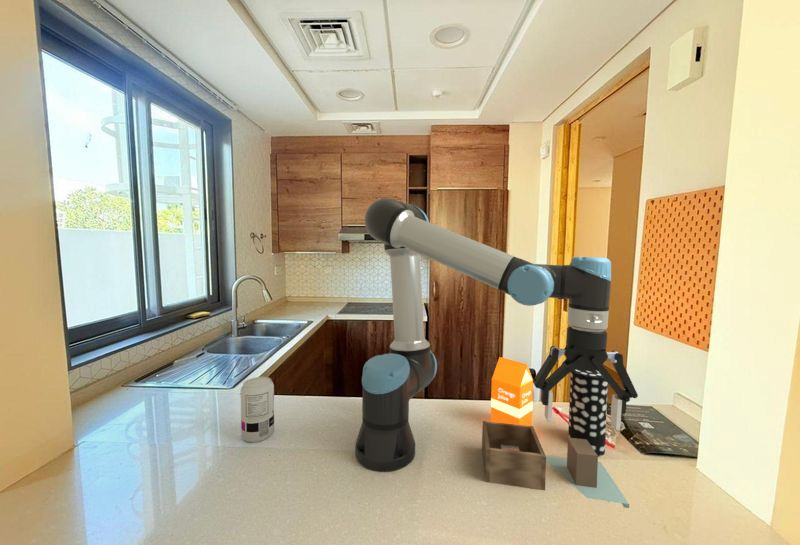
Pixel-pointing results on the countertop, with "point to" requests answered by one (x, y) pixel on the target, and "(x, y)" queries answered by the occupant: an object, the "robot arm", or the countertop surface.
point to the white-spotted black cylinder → (588, 408)
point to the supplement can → (257, 409)
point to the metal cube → (510, 447)
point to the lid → (586, 472)
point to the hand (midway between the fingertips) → (580, 422)
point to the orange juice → (512, 393)
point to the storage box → (513, 455)
